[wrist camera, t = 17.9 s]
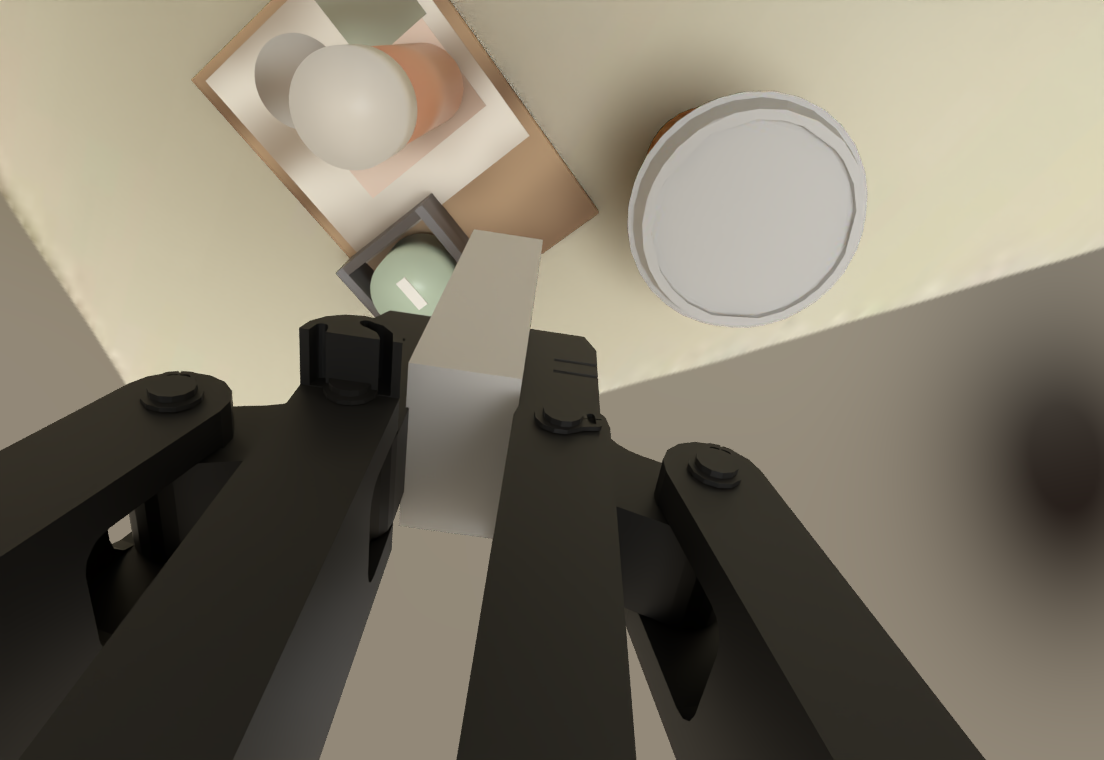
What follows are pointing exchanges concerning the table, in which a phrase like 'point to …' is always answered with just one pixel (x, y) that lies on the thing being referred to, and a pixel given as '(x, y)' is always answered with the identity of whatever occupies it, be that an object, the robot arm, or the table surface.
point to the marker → (372, 100)
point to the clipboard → (422, 165)
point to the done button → (412, 276)
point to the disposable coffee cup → (747, 209)
